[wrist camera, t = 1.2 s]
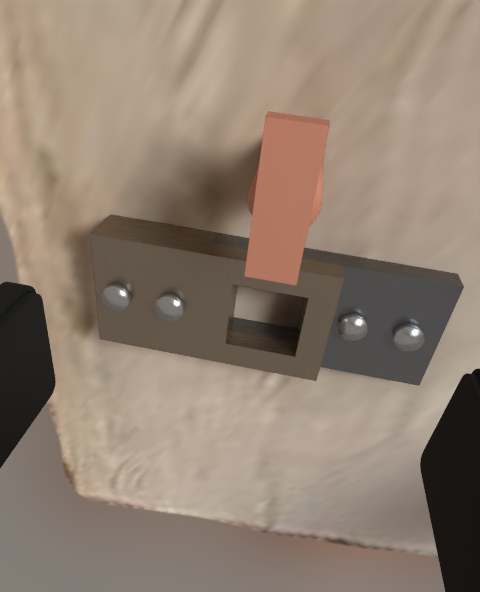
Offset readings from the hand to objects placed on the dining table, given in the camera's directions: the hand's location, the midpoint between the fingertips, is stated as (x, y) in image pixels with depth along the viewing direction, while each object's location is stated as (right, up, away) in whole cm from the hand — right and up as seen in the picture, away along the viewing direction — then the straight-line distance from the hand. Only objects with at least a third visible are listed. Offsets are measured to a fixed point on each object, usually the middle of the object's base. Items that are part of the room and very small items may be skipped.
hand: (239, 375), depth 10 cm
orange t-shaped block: (+3, +10, +15) cm, 18 cm away
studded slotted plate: (+2, +2, +20) cm, 21 cm away
